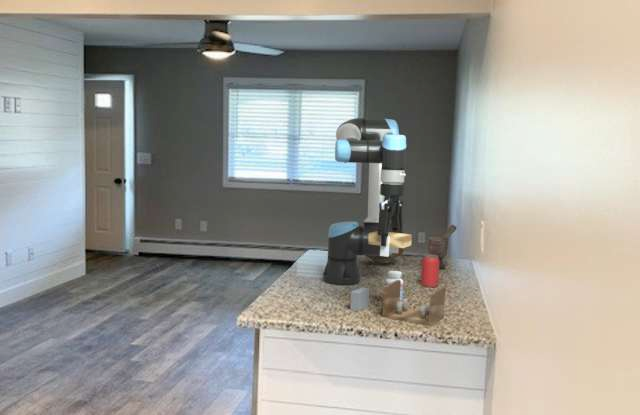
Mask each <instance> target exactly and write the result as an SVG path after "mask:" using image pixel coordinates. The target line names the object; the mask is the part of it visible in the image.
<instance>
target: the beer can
mask: <svg viewBox="0 0 640 415" xmlns="http://www.w3.org/2000/svg"><path fill="white" fill-rule="evenodd" d="M439 273H440V268H439V258H438V256H437V255H433V254H429V253H427V254H424V255H423V258H422V261H421V280H420V284H421V286H422V287H425V288H437V287H438V286H439V278H440V277H439V275H440V274H439Z"/></svg>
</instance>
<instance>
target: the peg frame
mask: <svg viewBox="0 0 640 415" xmlns="http://www.w3.org/2000/svg"><path fill="white" fill-rule="evenodd" d="M385 285H386V284H385ZM385 285H384V286H383V302H382V304H383V306H382V307H383V308H382V318H386V319H392V320H397V321H401V322H402V321H403V322H408V323H412V324H419V325H424V326H427V327H429V326H430V327H433V326H435V325H436V324H437V323H438V322H439V321H441V320H442V319H444V318H445V317H444V316H445V302H446V301H445V300H446V286H439V287H438V288H437V289H435V290H434V291H432V292H430V294H429V301H425V303H424V304H420V310H419V309H415V308H414V309H413V308H409V307H408V302H409V301H408V298H407V297H403V298H402V301H400V286H401V280H396V281H394V282H392V283H390V284H388V285H386V286H385Z"/></svg>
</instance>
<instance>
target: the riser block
mask: <svg viewBox="0 0 640 415" xmlns="http://www.w3.org/2000/svg"><path fill="white" fill-rule="evenodd" d="M369 306H370V288H369V287H363V286H360V287H359V288H356V289H354V290H352V291H350V309H349V310H351V311H355V312H359V311H362V310H363V309H366V308H367V307H369Z"/></svg>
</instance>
